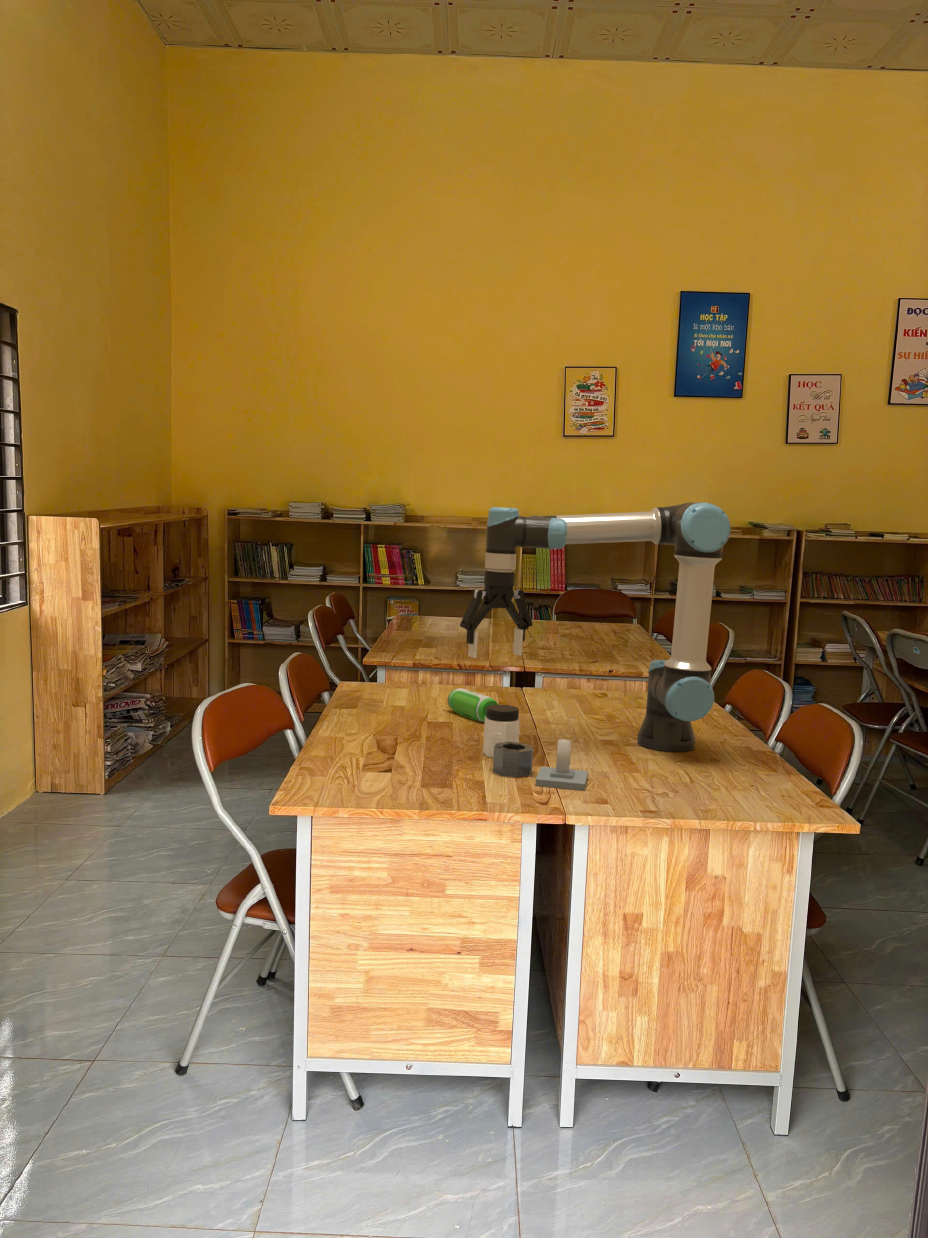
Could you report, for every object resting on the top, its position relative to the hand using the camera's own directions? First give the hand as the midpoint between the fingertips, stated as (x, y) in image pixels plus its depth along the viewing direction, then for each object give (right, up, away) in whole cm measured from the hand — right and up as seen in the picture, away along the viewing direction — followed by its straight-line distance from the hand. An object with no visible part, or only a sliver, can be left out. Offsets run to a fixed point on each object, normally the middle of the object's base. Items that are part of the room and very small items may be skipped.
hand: (495, 655), depth 244 cm
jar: (+1, -25, +1) cm, 25 cm away
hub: (+4, -27, -13) cm, 30 cm away
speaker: (-5, -20, +42) cm, 47 cm away
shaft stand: (+15, -28, -19) cm, 37 cm away
